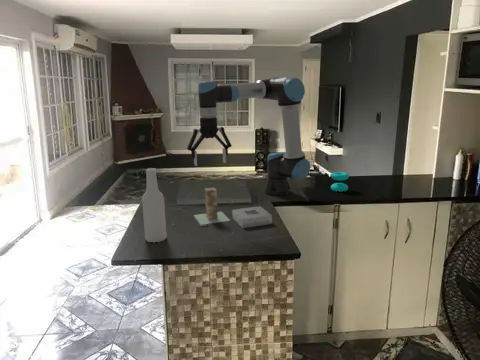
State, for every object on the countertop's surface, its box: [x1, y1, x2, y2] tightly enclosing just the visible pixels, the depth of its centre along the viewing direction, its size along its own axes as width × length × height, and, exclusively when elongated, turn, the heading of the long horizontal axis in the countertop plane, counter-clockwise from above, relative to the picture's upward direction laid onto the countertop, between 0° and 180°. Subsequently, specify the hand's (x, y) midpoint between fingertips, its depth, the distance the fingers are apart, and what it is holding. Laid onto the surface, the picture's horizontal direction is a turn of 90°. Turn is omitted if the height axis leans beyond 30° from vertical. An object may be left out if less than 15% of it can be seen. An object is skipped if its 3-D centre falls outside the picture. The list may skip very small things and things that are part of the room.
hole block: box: [231, 205, 273, 229], centre depth 185 cm, size 14×14×5 cm
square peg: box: [204, 187, 218, 220], centre depth 188 cm, size 4×4×14 cm
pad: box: [193, 211, 231, 227], centre depth 190 cm, size 14×14×1 cm
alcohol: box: [141, 167, 168, 244], centre depth 165 cm, size 9×9×30 cm
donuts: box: [330, 171, 350, 193], centre depth 235 cm, size 10×10×10 cm
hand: (210, 164), depth 184 cm, fingers open, 13 cm apart
